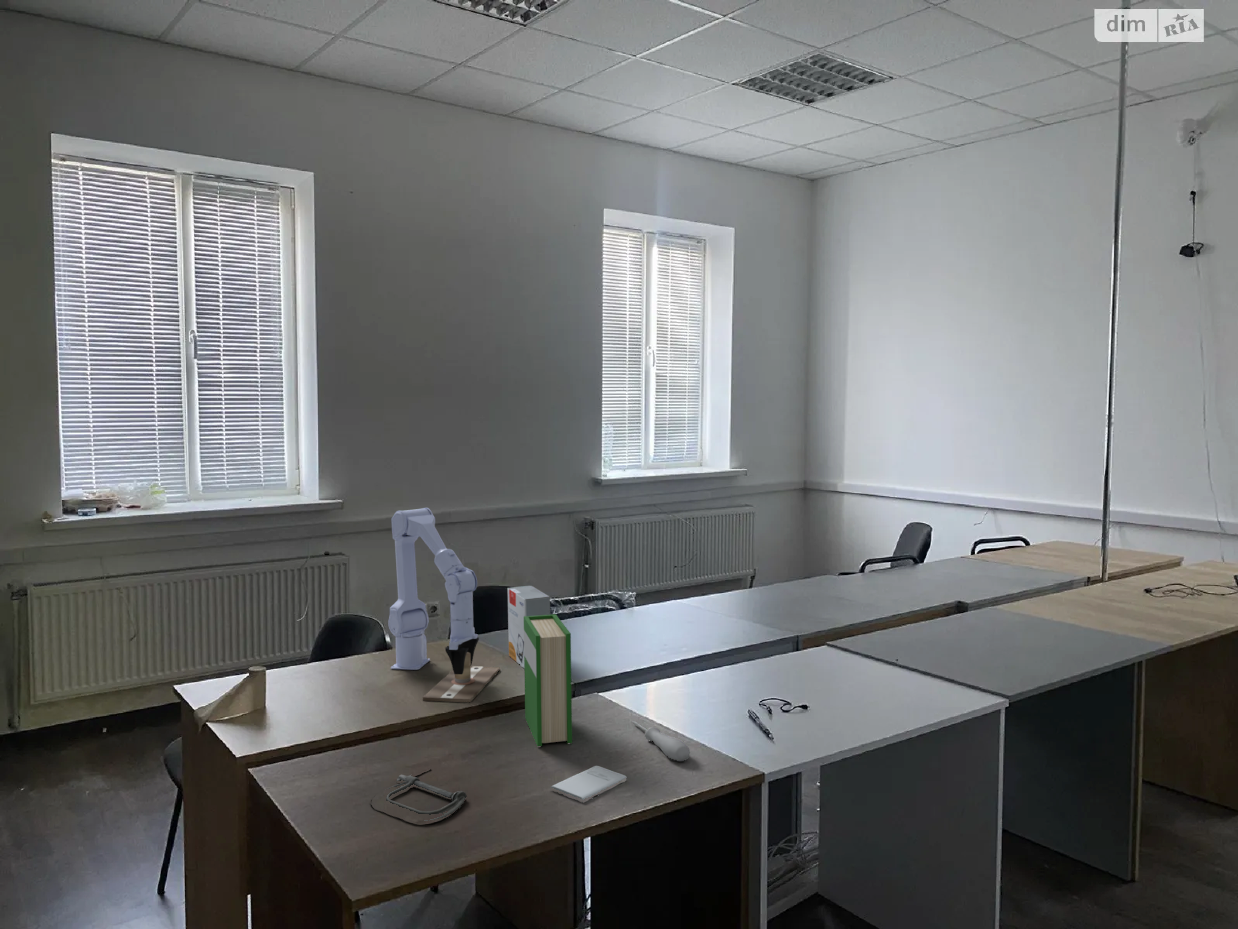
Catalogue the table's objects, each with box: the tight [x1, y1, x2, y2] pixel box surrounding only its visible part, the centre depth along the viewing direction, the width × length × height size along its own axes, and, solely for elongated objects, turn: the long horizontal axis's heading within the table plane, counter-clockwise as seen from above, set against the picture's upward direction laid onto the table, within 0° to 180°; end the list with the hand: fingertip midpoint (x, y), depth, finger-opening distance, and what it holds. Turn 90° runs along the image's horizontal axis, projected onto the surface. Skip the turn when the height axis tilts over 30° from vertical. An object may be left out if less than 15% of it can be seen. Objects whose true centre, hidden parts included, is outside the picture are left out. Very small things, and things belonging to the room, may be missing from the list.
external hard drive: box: [550, 765, 628, 800], centre depth 171 cm, size 2×8×12 cm
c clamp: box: [384, 774, 468, 821], centre depth 166 cm, size 20×17×3 cm
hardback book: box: [523, 613, 573, 747], centre depth 198 cm, size 18×7×24 cm, turn 14°
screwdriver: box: [631, 720, 691, 762], centre depth 191 cm, size 5×25×4 cm, turn 24°
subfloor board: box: [422, 665, 501, 703], centre depth 232 cm, size 26×12×1 cm, turn 172°
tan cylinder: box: [455, 652, 472, 683], centre depth 231 cm, size 4×4×7 cm
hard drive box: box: [507, 585, 551, 669], centre depth 251 cm, size 16×8×20 cm, turn 25°
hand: (462, 669), depth 231 cm, fingers open, 6 cm apart
